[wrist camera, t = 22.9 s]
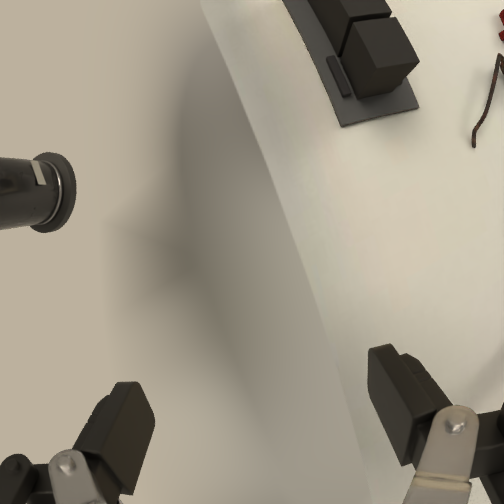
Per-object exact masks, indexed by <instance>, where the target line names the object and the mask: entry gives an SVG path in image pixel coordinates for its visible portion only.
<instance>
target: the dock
mask: <svg viewBox="0 0 504 504" xmlns="http://www.w3.org/2000/svg"><path fill="white" fill-rule="evenodd" d="M282 1H283V3H284V4H285V6H286V8H287V10H288V12H289V14H290V15H291V17H292V19H293V21H294V23H295V25H296V27H297V29H298V31H299V33H300V35H301V37H302V39H303V41H304V43H305V45H306V47H307V49H308V51H309V53H310V55H311V57H312V60H313V62H314V64H315V66H316V68H317V70H318V73H319V75H320V77H321V79H322V82H323V84H324V86H325V89H326V91H327V93H328V96H329V98H330V101H331V103H332V106H333V108H334V111H335V113H336V116H337V118H338V121H339V123H340V126H341V127H342V126H346V125H349V124H353V123H357V122H361V121H365V120H369V119H373V118H377V117H381V116H385V115H390V114H394V113H398V112H403V111H408V110H412V109H417V108H419V105H418V102H417V100H416V97H415V95H414V93H413V90H412V88H411V86H410V84H409V81H408V79H407V77H405V78H404V79H403V81H402V82H401V83H400V84H399V85H398V86H397V87H396V88H395V89H394V90H393V91H392V92H390V93H385V94H380V95H375V96H371V97H366V98H362V99H358V100H357V99H356V96H355V94H354V92H353V89H352V87H351V85H350V82H349V80H348V78H347V76H346V73H345V71H344V69H343V67H342V65H341V63H340V60H341V57H342V54H343V51H344V48H345V45H346V42H347V39H348V36H349V33H350V30H351V27H352V24H353V22H359V21H366V20H373V19H382V18H389V17H390V15H391V13H392V11H391V9H390V8H389V6H388V4H387V3H386V1H385V0H282Z"/></svg>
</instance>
